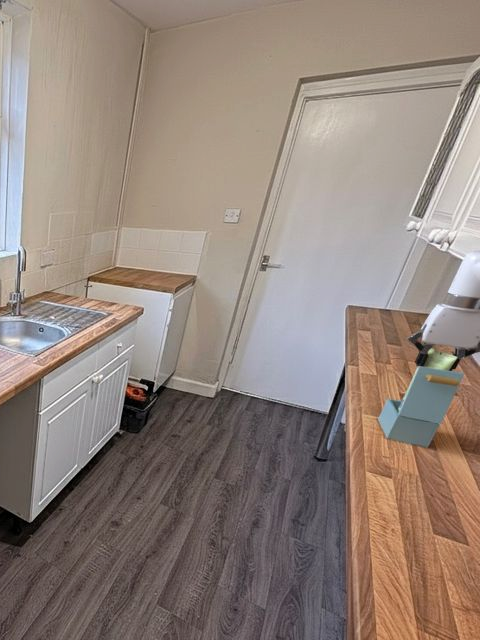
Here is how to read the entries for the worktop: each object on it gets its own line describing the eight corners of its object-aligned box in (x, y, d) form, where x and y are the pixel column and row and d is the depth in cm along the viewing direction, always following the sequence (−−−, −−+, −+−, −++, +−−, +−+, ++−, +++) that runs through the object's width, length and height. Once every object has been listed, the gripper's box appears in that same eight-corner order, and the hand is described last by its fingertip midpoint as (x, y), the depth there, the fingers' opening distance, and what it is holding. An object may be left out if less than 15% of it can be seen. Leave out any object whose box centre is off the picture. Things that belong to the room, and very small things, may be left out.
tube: (423, 416, 116) (456, 351, 108) (424, 422, 113) (458, 356, 105) (396, 409, 120) (425, 346, 112) (395, 415, 117) (426, 351, 109)
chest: (377, 420, 126) (387, 398, 123) (414, 428, 122) (425, 405, 119) (386, 439, 116) (397, 416, 113) (427, 449, 112) (439, 425, 109)
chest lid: (418, 365, 109) (424, 370, 105) (463, 373, 104) (471, 377, 100) (397, 414, 113) (403, 420, 109) (440, 423, 109) (447, 429, 105)
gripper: (510, 304, 102) (473, 371, 109) (415, 295, 111) (387, 358, 118) (524, 310, 96) (484, 381, 103) (422, 300, 105) (393, 366, 112)
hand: (433, 368), depth 111 cm, fingers closed on tube, 4 cm apart
